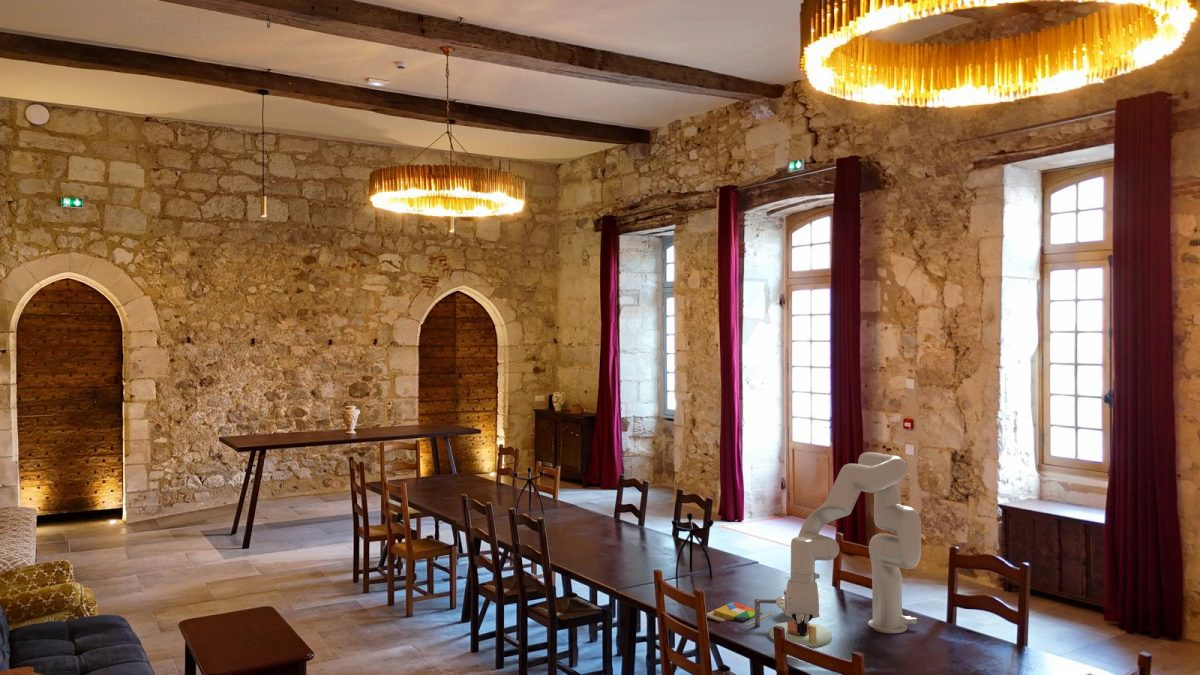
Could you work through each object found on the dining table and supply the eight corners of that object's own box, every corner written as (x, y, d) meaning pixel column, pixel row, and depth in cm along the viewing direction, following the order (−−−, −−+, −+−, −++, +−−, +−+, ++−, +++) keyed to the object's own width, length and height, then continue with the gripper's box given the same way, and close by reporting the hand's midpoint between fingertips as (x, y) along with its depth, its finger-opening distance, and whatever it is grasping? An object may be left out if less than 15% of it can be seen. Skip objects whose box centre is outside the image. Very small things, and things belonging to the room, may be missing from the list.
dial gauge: (785, 627, 294) (785, 594, 294) (787, 632, 289) (787, 598, 289) (749, 626, 295) (749, 593, 295) (750, 631, 290) (750, 598, 290)
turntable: (814, 623, 294) (814, 605, 294) (843, 644, 275) (843, 624, 275) (759, 628, 290) (759, 609, 290) (785, 650, 270) (784, 629, 270)
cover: (802, 627, 286) (801, 614, 286) (813, 634, 280) (813, 620, 280) (783, 630, 284) (783, 616, 284) (794, 637, 278) (794, 623, 278)
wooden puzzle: (747, 631, 292) (746, 621, 292) (700, 619, 305) (700, 609, 305) (773, 618, 305) (773, 608, 305) (727, 607, 318) (727, 597, 318)
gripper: (824, 575, 277) (824, 632, 276) (777, 573, 278) (776, 630, 278) (828, 581, 269) (827, 640, 269) (779, 579, 271) (779, 637, 270)
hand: (801, 634), depth 273 cm, fingers closed
